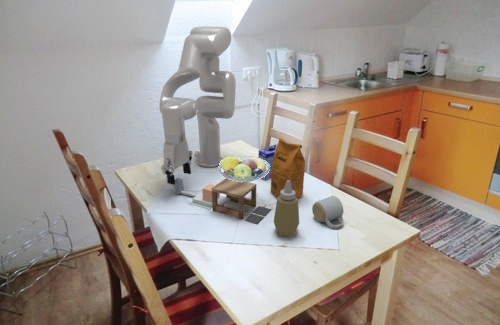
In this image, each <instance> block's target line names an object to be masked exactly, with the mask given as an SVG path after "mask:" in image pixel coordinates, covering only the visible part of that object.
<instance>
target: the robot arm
mask: <svg viewBox="0 0 500 325" xmlns="http://www.w3.org/2000/svg"><path fill="white" fill-rule="evenodd" d="M231 43H232V32H231V31H230V29H229V28H227V27H226V26H208V25H207V26H195V27H193V28H192V29H190V32H189V35H187V36H186V38H184V42H183V47H182V52H181V56H180V60H179V61H180V62H179V66H178V69H177V71H176V72H175V73H173V74H172V75H171V76H170V77H169V78H168V80H167V81H166V82H165V84H164V85H163V86H162V87H163V88H162V89H161V94H160V99H159V106H158V108H159V112H160V114H161V117H162V126H163V135H164V141H165V142H163V151H162V152H163V164H162V165H161V166H160V170H162V172H163V174H164V175H166V182H167V184H169V185H173V186H174V185H175V179H176V178H175V174H174V172H175V170H176V169H178V168H179V167H182V168H183V169H182V171H183V174H187V175H190V174H192V171H191V170H192V169H191V164H192V158H193V157H197V160H196V163H197V165H198V166H199V167H202V168H215V167H219V166H218V165H219V163H220V161H221V160H222V159H224V158H223V157H221V140H220V139H221V134H220V133H221V131H220V129H221V128H220V123H219V122H218V121H217V119H223V120H224V119H225V120H228V119H229V120H230V119H231V118H233V116H234V114H235V109H236V107H235V106H236V104H235V103H236V87H237V86H236V82H237V81H236V77H235V74H234V73H232V71H227V70H225V71H224V70H220V56H221V55H223V53H225V51H226V50H228V48H229V47H230V45H231ZM198 79H199V81H198V83H199V84H198V85H199V89H200V90H201V91H202V92H204V93H212V94H222V95H223V96H217V95H200V96H199V97H197V98H196V100H195V99H193V98H190V97H189V98H188V97H186V98H185V97H175V96H174V95H175V93H176V92H177V90H178V89H179V88H181V87H182V86H184V85H186V84H189V83H191V82H194V81H195V80H198ZM194 117H196V119H197V126H198V144H199V145H198V146H199V151H198V150H195V151H194V152H193V150H190V149H189V143H188V140H187V137H186V126H185V121H187V120H191V119H193V118H194ZM193 153H194V154H193ZM192 156H193V157H192Z"/></svg>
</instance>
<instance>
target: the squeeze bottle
mask: <svg viewBox="0 0 500 325" xmlns="http://www.w3.org/2000/svg"><path fill="white" fill-rule="evenodd" d="M295 194H296V193H295V191H294V190H292V187H291V182H290V180H287V181H286V185H285V188H284V189H283V190H281V191H280V196H279V197H276V204H275V211H274V218H273V224H274V227H275V230H276V233H277V234H278V235H279V236H282V237H292V236H294V235H295V233H296V231H297V229H298V227H299V224H300V210H299V199H298V198H299V197H298V198H296V197H295Z"/></svg>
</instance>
